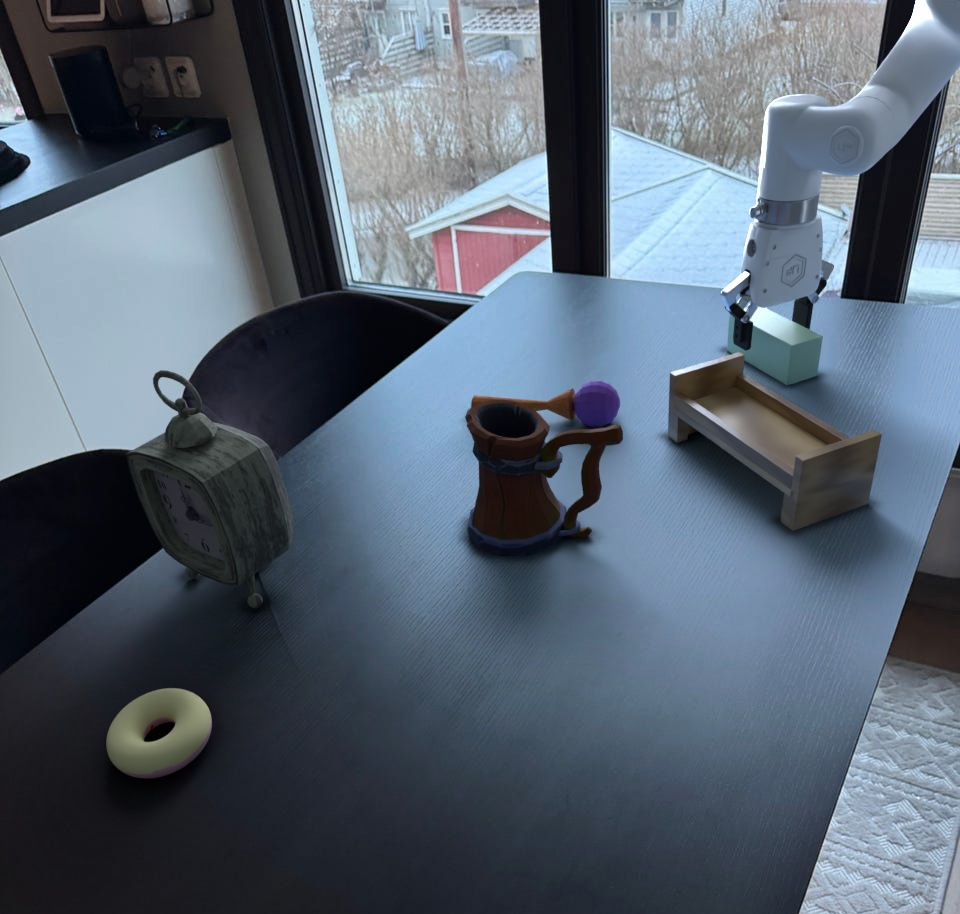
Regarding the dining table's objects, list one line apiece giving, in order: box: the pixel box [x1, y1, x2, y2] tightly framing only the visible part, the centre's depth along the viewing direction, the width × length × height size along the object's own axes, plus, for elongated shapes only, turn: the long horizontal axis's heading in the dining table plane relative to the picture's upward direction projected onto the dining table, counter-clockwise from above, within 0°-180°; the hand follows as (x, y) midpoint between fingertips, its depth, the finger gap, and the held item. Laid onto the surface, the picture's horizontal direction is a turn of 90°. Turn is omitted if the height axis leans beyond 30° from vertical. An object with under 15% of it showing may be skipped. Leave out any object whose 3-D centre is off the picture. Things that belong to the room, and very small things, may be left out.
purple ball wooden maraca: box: [470, 379, 621, 428], centre depth 122 cm, size 6×6×20 cm
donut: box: [105, 687, 213, 779], centre depth 84 cm, size 10×5×9 cm
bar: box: [726, 307, 824, 386], centre depth 128 cm, size 5×14×6 cm, turn 23°
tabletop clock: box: [126, 369, 295, 609], centre depth 95 cm, size 14×9×25 cm, turn 53°
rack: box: [667, 352, 883, 532], centre depth 106 cm, size 10×25×9 cm, turn 23°
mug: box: [464, 399, 624, 557], centre depth 99 cm, size 18×12×15 cm, turn 69°
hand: (771, 338), depth 127 cm, fingers open, 9 cm apart
